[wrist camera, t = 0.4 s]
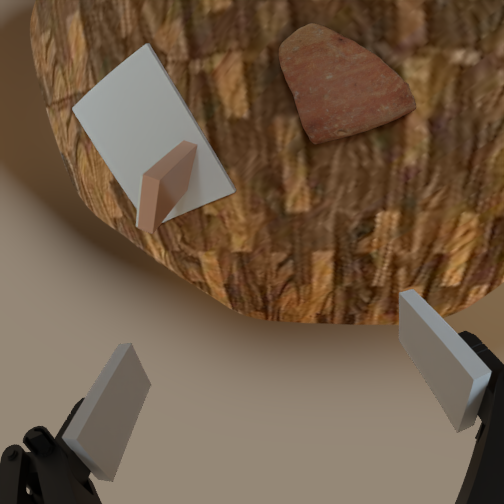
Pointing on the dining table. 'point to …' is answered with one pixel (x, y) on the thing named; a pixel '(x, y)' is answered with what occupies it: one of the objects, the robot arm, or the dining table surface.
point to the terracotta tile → (164, 185)
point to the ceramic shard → (340, 84)
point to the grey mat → (148, 129)
